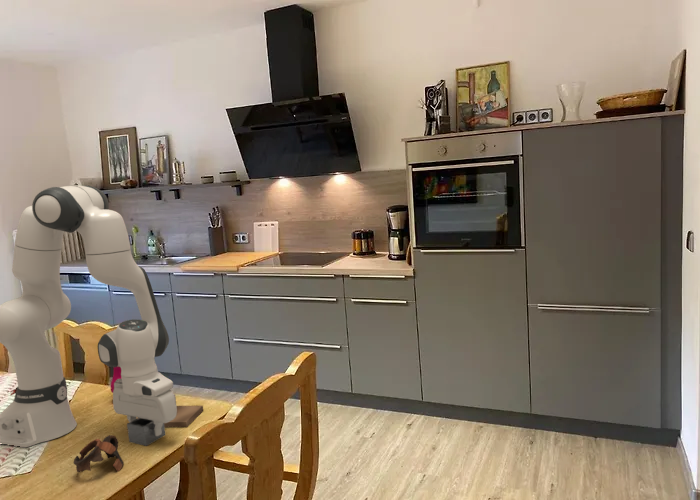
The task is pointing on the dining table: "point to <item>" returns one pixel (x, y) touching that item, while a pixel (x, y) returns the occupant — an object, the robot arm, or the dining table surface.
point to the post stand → (184, 416)
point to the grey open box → (143, 431)
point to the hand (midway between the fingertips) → (146, 432)
